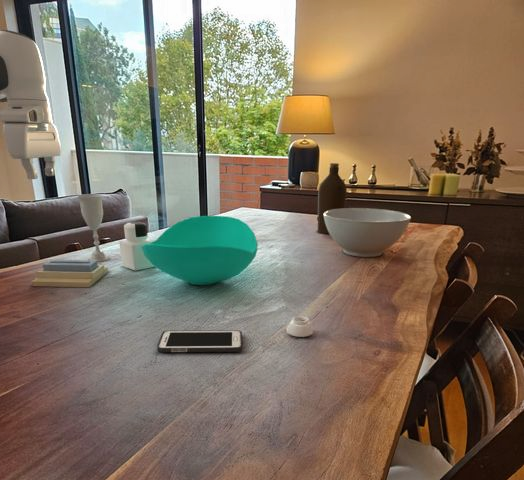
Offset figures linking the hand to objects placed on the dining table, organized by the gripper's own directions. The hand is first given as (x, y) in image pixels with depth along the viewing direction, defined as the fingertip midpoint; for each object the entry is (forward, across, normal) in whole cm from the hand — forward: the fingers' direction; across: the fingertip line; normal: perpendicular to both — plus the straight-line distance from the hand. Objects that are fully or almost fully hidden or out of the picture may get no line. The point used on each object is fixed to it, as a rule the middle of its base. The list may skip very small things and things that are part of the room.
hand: (41, 177), depth 113 cm
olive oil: (+24, -63, +80) cm, 105 cm away
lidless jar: (+24, +39, +63) cm, 78 cm away
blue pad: (+23, +6, +6) cm, 24 cm away
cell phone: (+24, +45, +45) cm, 68 cm away
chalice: (+24, -14, +6) cm, 29 cm away
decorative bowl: (+24, -29, +87) cm, 95 cm away
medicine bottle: (+24, -7, +20) cm, 32 cm away
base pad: (+24, +6, +6) cm, 25 cm away
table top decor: (+24, +6, +40) cm, 47 cm away
